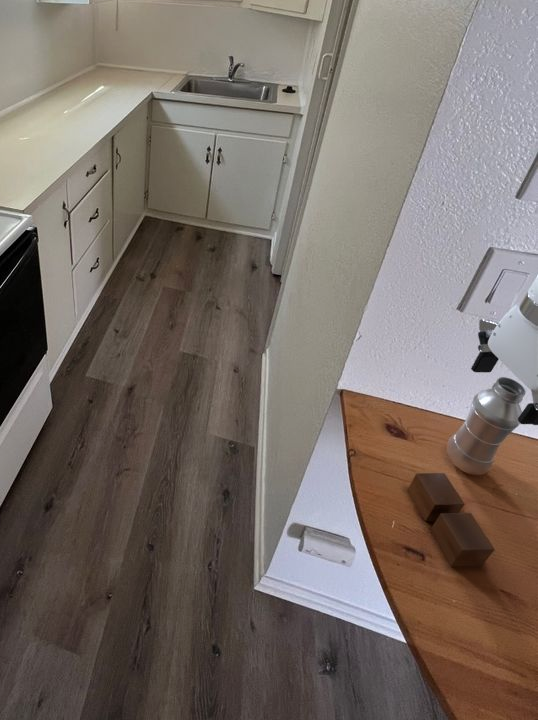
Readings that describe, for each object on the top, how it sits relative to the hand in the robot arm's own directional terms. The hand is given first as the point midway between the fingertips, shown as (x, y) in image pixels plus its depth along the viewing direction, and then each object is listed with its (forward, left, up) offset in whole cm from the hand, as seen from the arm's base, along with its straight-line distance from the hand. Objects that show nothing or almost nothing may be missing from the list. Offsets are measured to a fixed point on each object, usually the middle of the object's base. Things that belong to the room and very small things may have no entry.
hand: (502, 395), depth 69 cm
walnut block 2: (+11, +13, -18) cm, 24 cm away
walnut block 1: (+11, +7, -18) cm, 22 cm away
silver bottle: (0, 0, -18) cm, 18 cm away
